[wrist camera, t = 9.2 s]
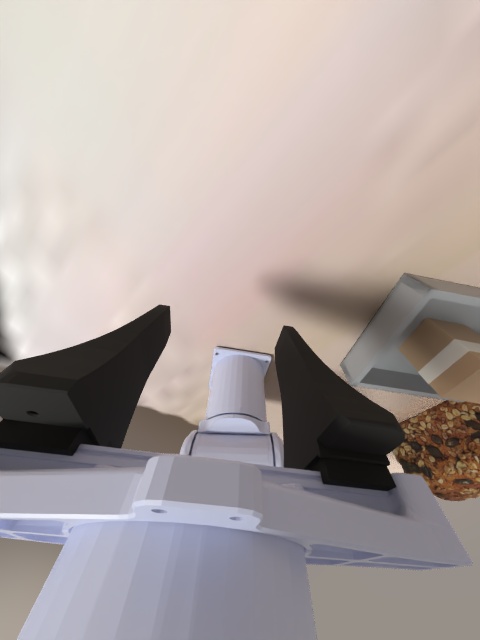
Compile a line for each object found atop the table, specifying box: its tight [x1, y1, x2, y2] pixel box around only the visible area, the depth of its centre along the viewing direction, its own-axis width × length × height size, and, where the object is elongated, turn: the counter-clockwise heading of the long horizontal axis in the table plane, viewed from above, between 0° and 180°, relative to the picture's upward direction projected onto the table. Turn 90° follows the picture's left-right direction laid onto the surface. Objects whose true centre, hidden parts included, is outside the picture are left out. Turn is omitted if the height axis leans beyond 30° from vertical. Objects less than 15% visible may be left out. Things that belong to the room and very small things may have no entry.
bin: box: [340, 273, 480, 402], centre depth 23 cm, size 14×16×4 cm
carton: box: [398, 318, 480, 404], centre depth 21 cm, size 5×5×7 cm
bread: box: [393, 400, 480, 501], centre depth 31 cm, size 19×11×10 cm, turn 150°
